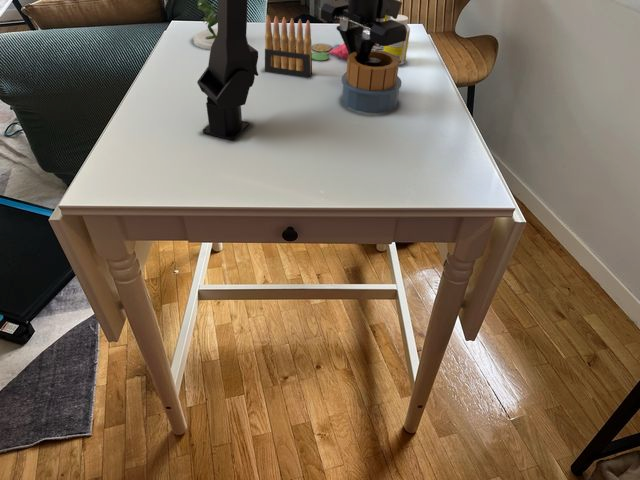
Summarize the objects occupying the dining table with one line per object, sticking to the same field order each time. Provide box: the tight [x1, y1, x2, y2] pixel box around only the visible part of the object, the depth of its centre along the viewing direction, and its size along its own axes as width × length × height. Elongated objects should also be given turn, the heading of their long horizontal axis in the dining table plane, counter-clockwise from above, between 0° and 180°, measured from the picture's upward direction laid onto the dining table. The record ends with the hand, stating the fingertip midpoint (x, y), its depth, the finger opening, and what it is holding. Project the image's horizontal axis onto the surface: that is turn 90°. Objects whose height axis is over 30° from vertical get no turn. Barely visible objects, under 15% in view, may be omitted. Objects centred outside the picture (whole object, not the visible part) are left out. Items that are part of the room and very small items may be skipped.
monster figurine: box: [192, 0, 218, 50], centre depth 119 cm, size 12×12×10 cm
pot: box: [341, 84, 400, 114], centre depth 99 cm, size 11×11×4 cm
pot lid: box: [341, 58, 403, 96], centre depth 96 cm, size 12×12×5 cm
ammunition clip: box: [264, 14, 313, 79], centre depth 106 cm, size 11×2×12 cm, turn 75°
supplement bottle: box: [382, 14, 411, 66], centre depth 113 cm, size 6×6×10 cm
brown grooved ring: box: [346, 49, 400, 91], centre depth 95 cm, size 10×10×4 cm
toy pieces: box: [311, 42, 349, 62], centre depth 117 cm, size 12×11×4 cm
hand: (358, 65), depth 98 cm, fingers closed on brown grooved ring
